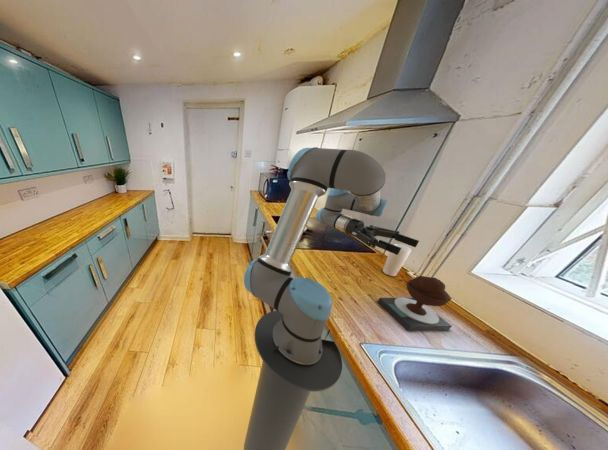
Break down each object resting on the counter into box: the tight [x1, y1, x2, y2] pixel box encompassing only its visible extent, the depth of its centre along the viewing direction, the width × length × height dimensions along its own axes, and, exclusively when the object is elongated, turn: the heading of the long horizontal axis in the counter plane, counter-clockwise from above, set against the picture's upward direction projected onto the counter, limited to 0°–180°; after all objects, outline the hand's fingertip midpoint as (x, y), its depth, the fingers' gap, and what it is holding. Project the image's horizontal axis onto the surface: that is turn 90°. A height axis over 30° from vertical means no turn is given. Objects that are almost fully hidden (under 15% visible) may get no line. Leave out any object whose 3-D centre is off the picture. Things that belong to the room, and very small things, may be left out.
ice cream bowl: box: [405, 275, 452, 316], centre depth 70 cm, size 11×11×15 cm
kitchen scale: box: [377, 297, 452, 332], centre depth 74 cm, size 15×13×3 cm
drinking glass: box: [382, 243, 412, 277], centre depth 95 cm, size 7×7×15 cm
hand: (408, 247), depth 73 cm, fingers open, 13 cm apart
